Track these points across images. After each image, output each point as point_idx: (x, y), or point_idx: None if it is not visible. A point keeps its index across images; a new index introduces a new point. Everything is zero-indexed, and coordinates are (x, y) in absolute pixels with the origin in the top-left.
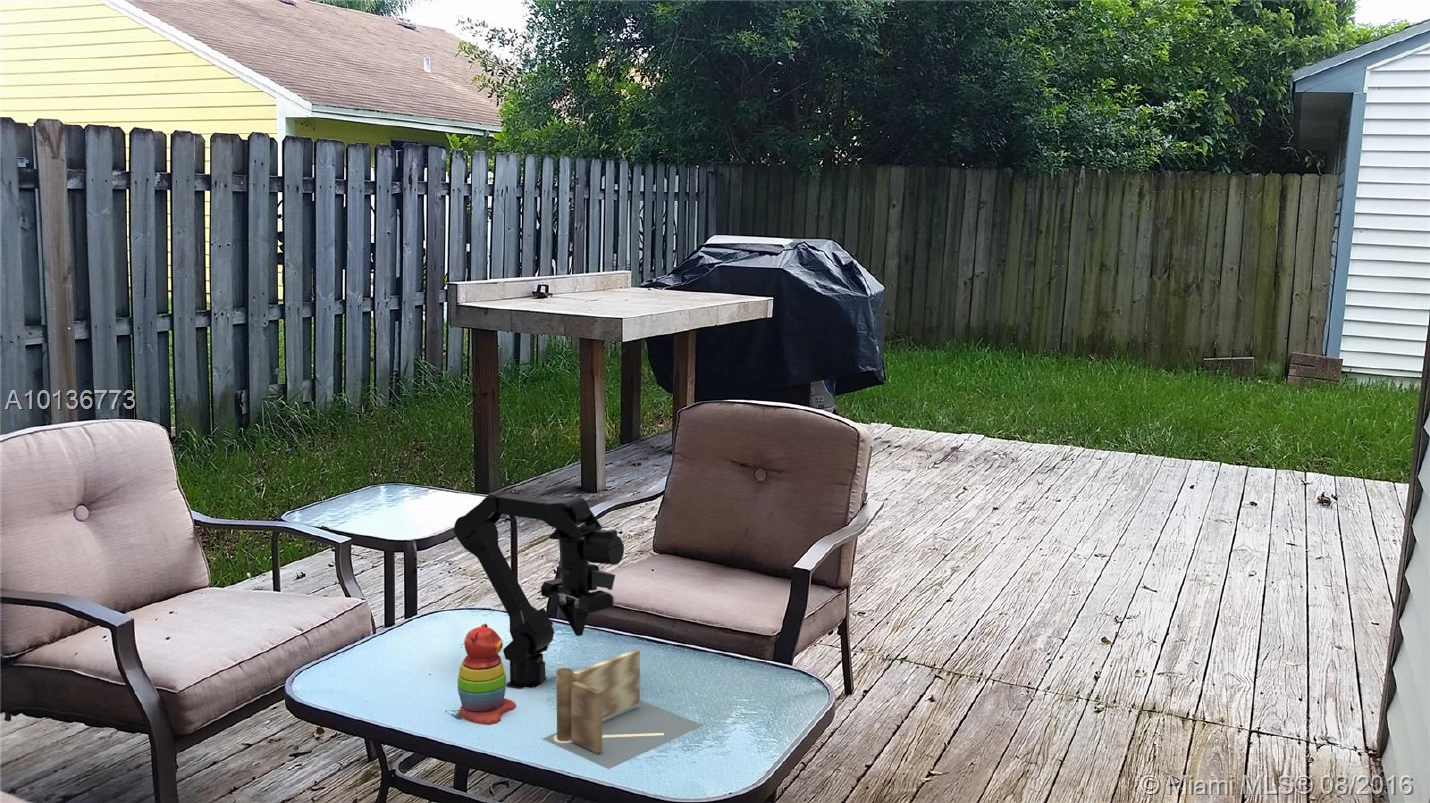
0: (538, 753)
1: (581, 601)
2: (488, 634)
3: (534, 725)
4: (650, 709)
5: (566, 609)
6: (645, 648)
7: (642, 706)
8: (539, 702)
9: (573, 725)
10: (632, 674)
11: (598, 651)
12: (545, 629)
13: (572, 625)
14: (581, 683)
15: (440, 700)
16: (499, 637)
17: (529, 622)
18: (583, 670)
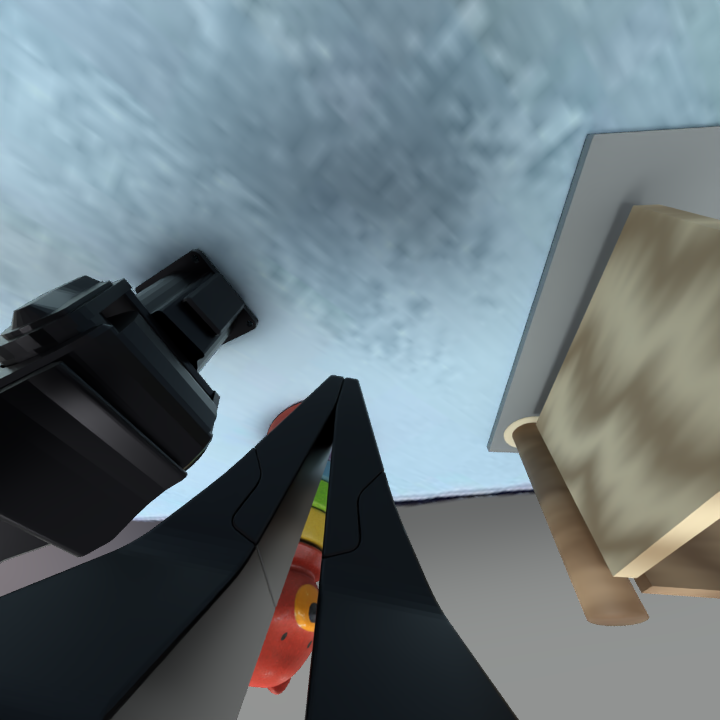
0: (512, 468)
1: None
2: (290, 674)
3: (423, 420)
4: (694, 172)
5: (256, 655)
6: None
7: (646, 176)
8: (334, 354)
9: None
10: None
11: None
12: (119, 403)
13: (320, 480)
14: (680, 587)
15: (212, 447)
16: (282, 629)
17: (123, 520)
18: (646, 561)
